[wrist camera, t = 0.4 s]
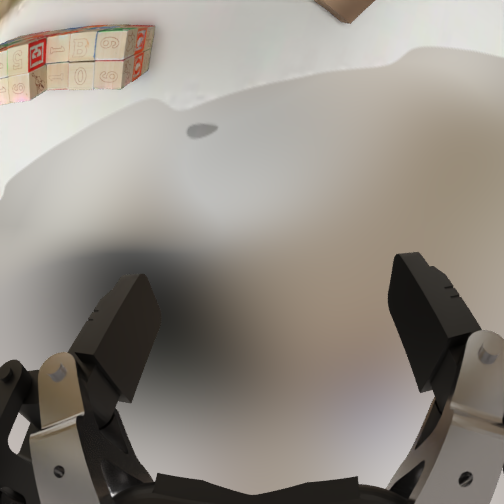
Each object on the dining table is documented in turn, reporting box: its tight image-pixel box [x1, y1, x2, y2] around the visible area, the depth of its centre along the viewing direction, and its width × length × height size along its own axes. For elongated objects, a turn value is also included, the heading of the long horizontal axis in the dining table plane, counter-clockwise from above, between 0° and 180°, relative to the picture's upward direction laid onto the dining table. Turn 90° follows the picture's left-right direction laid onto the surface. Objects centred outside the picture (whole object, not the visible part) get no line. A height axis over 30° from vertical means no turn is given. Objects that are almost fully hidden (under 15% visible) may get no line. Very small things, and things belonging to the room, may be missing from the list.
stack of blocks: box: [0, 25, 155, 105], centre depth 19 cm, size 21×6×12 cm, turn 75°
